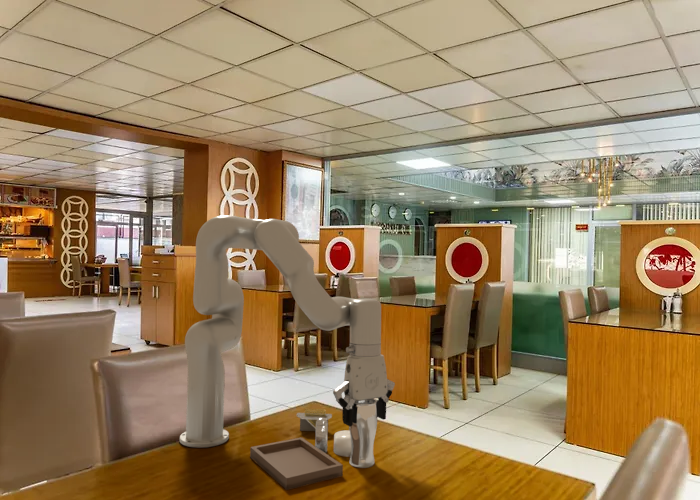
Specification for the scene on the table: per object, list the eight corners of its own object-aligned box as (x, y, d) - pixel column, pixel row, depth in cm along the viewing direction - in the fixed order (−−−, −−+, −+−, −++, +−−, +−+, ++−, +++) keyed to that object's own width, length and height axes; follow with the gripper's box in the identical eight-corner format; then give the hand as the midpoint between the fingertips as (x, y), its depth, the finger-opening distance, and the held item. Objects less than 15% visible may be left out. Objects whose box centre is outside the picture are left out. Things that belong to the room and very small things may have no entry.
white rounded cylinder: (328, 449, 132) (328, 433, 132) (349, 443, 136) (350, 428, 136) (345, 459, 126) (345, 443, 126) (366, 452, 131) (367, 437, 131)
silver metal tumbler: (373, 470, 120) (375, 405, 120) (344, 467, 121) (346, 403, 121) (378, 458, 127) (379, 397, 127) (350, 455, 128) (352, 395, 128)
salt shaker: (313, 450, 131) (313, 417, 131) (323, 448, 133) (324, 415, 133) (318, 454, 128) (319, 420, 129) (329, 452, 130) (330, 418, 130)
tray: (250, 457, 125) (250, 447, 126) (301, 447, 133) (301, 437, 133) (286, 490, 109) (286, 478, 109) (342, 476, 116) (342, 465, 116)
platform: (344, 442, 138) (344, 417, 139) (277, 439, 139) (278, 415, 139) (346, 427, 150) (346, 405, 150) (285, 425, 151) (285, 402, 151)
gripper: (343, 356, 116) (342, 432, 116) (403, 349, 126) (402, 419, 126) (326, 350, 123) (325, 423, 122) (384, 344, 132) (384, 411, 132)
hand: (364, 421), depth 124 cm, fingers open, 9 cm apart
